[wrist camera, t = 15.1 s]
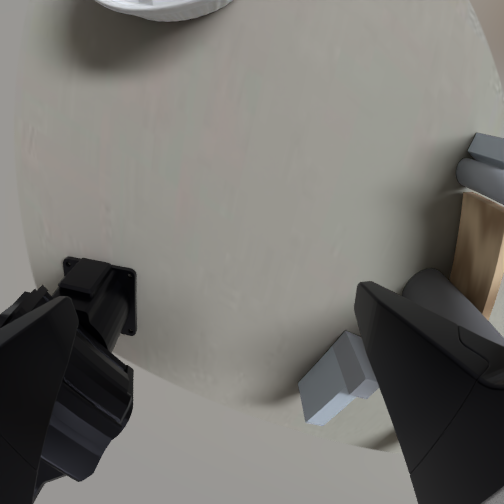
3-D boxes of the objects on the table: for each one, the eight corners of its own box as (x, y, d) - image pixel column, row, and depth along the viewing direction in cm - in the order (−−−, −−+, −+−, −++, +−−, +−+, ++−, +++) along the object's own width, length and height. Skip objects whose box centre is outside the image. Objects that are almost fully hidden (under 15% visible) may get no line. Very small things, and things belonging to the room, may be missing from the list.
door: (463, 192, 20) (507, 214, 15) (480, 191, 20) (523, 213, 15) (435, 332, 26) (460, 368, 21) (451, 328, 26) (477, 361, 21)
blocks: (315, 388, 29) (326, 434, 24) (296, 382, 29) (305, 430, 23) (489, 148, 19) (538, 163, 14) (475, 131, 19) (526, 142, 13)
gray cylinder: (414, 321, 26) (474, 414, 15) (392, 294, 25) (461, 395, 14) (450, 289, 25) (522, 371, 14) (432, 258, 23) (518, 344, 12)
